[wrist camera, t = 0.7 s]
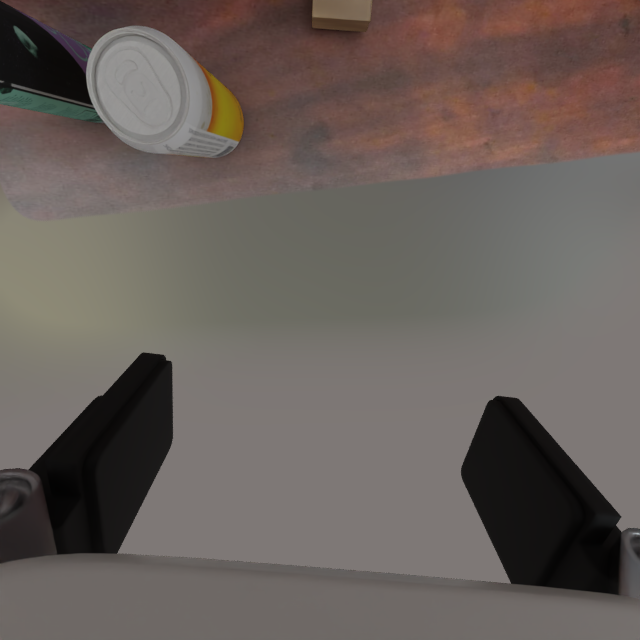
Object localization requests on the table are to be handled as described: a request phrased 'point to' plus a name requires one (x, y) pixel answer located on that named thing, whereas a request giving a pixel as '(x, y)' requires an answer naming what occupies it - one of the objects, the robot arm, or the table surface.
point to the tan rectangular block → (341, 14)
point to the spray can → (42, 68)
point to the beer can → (161, 96)
